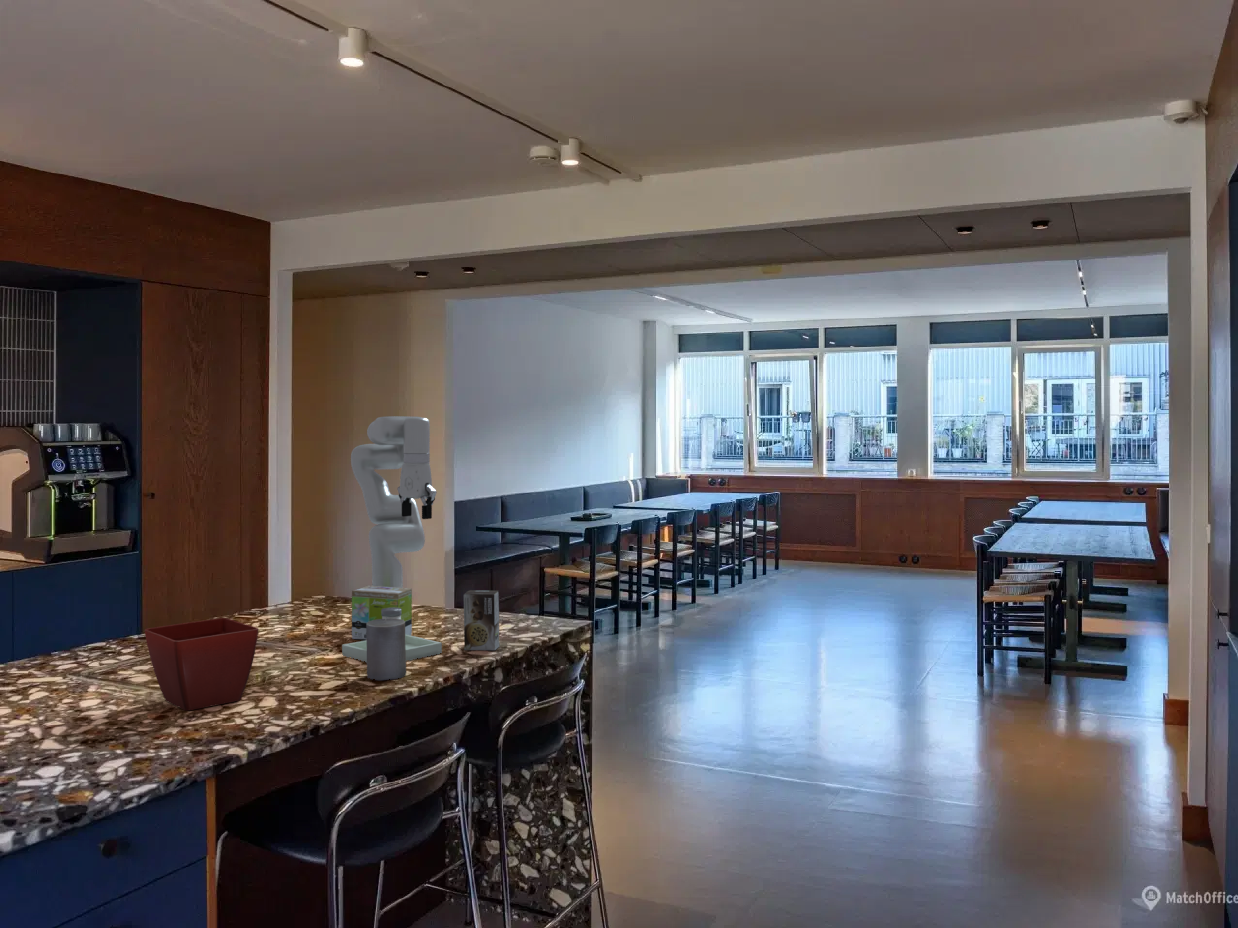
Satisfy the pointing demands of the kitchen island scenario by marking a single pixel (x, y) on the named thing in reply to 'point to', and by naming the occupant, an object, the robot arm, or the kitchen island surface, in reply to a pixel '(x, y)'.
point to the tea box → (379, 607)
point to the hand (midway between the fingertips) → (416, 517)
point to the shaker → (391, 613)
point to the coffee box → (481, 620)
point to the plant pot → (202, 661)
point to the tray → (413, 644)
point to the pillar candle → (386, 649)
